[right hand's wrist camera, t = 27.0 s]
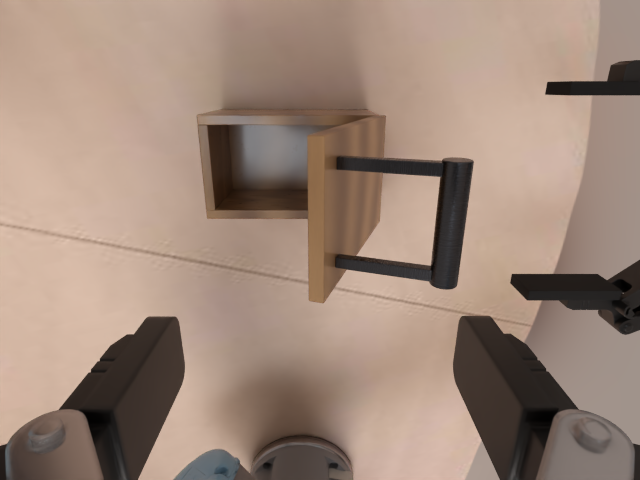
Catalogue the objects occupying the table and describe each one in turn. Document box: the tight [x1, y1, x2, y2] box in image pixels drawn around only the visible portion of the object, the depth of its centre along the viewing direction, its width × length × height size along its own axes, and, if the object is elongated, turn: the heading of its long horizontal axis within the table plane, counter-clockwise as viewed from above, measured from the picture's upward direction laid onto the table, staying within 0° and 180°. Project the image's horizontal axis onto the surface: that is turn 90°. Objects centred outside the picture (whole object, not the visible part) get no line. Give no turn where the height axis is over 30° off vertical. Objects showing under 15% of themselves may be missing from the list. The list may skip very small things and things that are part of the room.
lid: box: [307, 115, 474, 303], centre depth 27 cm, size 16×9×8 cm
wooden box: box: [197, 109, 378, 219], centre depth 40 cm, size 16×9×9 cm, turn 90°
